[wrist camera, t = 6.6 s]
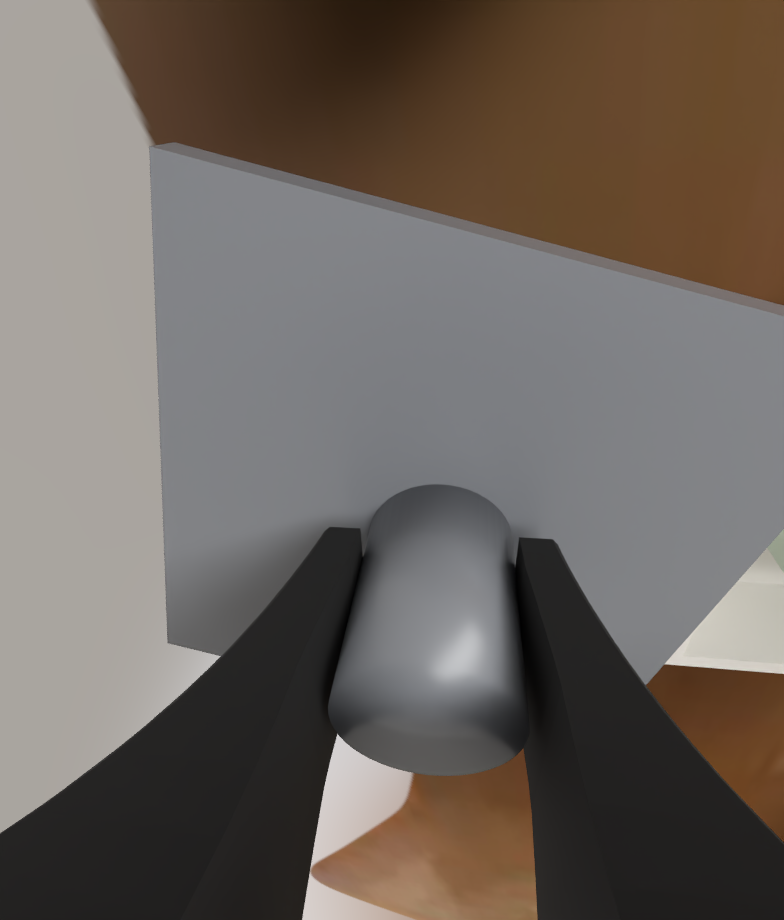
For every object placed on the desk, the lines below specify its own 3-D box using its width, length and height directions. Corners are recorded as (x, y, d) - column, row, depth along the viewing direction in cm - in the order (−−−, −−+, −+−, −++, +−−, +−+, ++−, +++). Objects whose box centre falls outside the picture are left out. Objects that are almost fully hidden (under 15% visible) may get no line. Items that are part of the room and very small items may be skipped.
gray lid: (900, 336, 9) (1257, 539, 5) (586, 719, 16) (624, 931, 12) (174, 142, 8) (-89, 184, 4) (181, 619, 15) (78, 802, 11)
